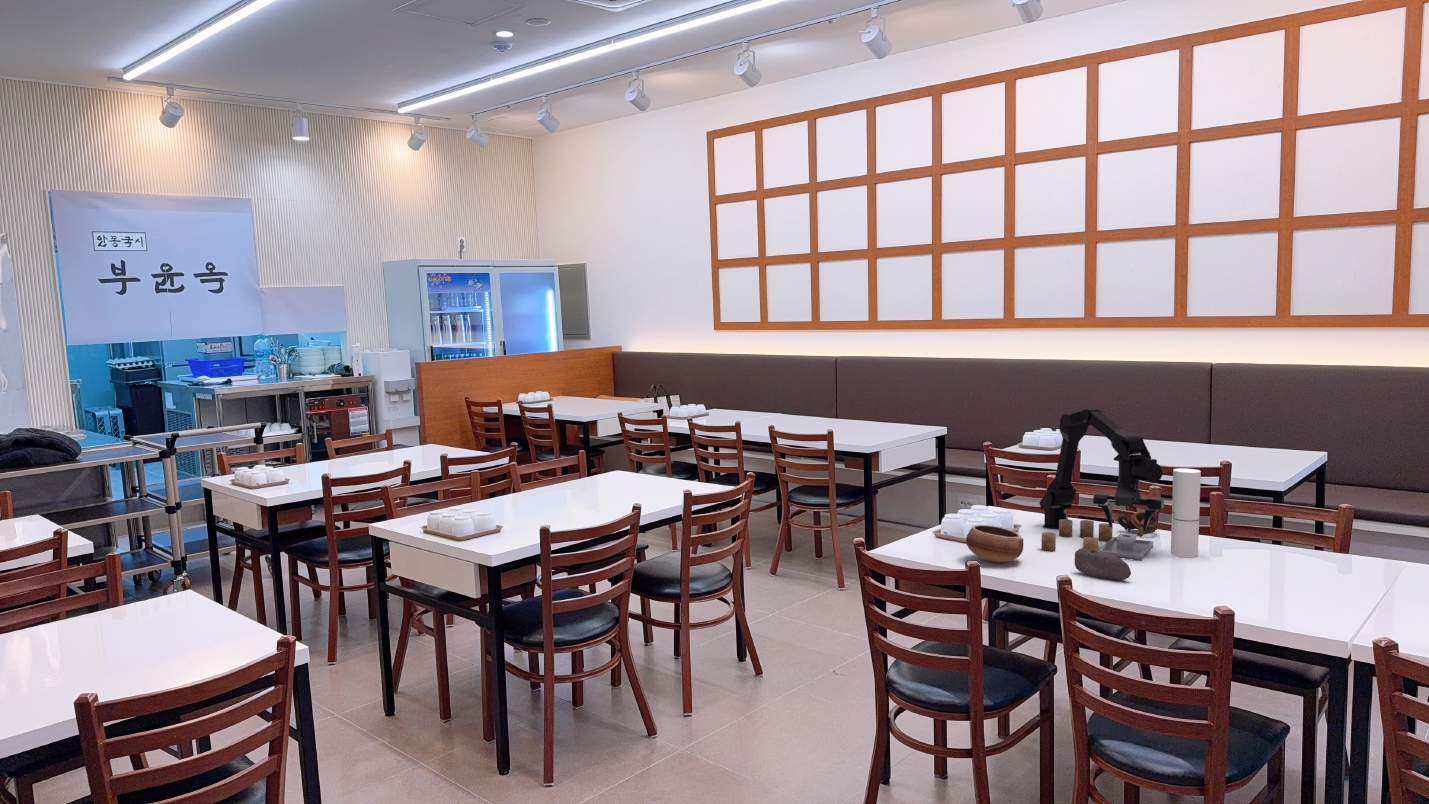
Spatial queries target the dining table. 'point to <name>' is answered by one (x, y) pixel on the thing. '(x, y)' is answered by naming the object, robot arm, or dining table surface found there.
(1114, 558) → the perforated stone tool
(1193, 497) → the cylindrical container
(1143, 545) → the slate tray
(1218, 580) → the dining table surface
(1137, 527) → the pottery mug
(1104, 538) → the posts
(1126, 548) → the steel nut
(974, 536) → the bowl
